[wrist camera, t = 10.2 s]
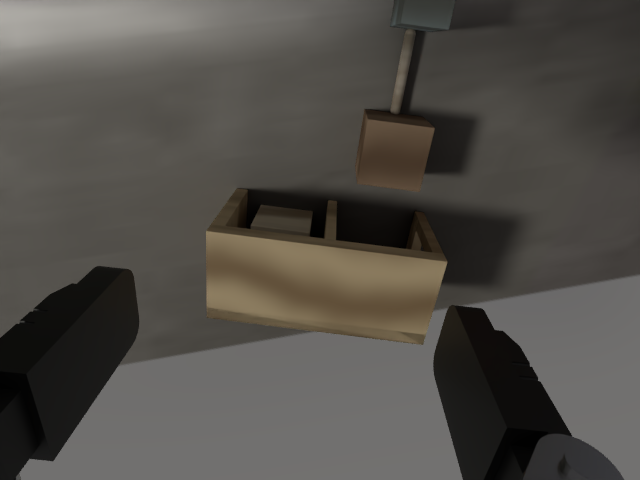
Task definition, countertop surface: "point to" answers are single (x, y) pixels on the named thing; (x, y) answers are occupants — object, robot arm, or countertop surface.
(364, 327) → the divided wooden crate
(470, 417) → the robot arm
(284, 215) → the plain block
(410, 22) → the corded block
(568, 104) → the countertop surface
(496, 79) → the countertop surface
